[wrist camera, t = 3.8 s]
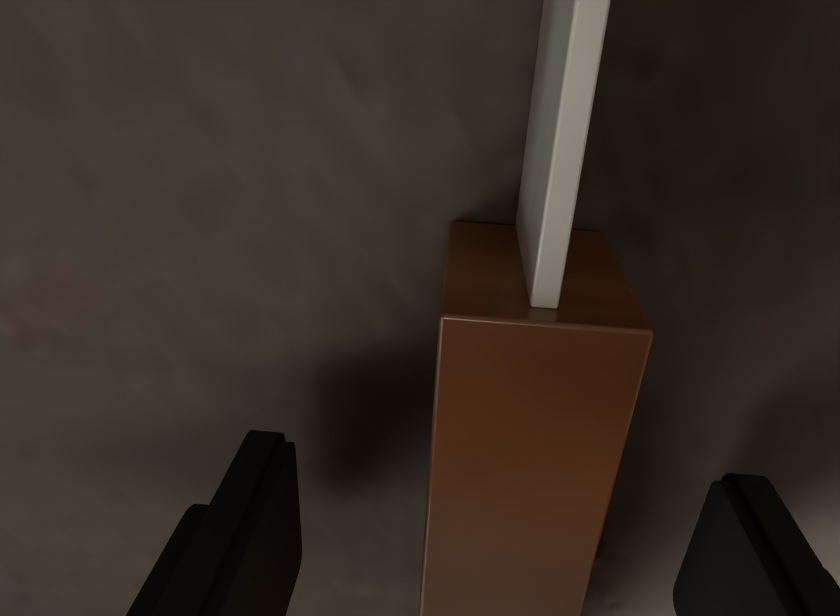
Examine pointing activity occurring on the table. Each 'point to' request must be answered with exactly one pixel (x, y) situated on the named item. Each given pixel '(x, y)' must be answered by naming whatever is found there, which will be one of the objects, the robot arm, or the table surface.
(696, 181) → the table surface
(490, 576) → the knife
